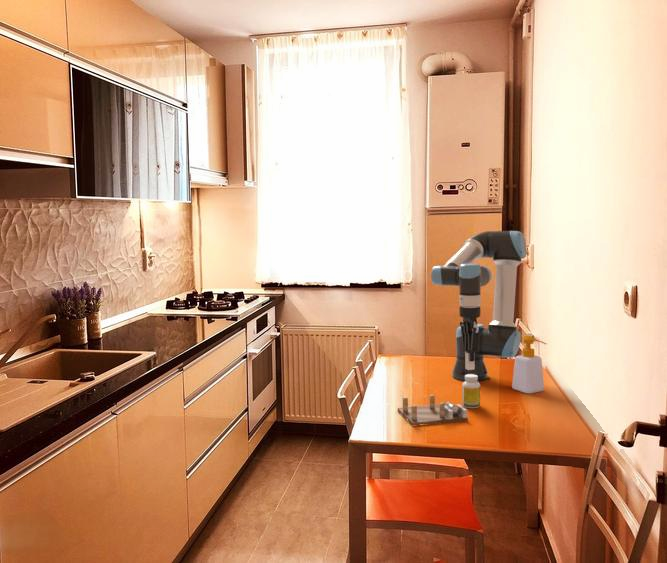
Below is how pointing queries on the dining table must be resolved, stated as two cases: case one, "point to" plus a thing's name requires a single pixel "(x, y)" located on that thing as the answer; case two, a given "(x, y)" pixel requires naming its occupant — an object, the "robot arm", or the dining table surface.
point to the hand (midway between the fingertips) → (469, 369)
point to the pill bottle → (471, 391)
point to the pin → (453, 408)
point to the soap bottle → (528, 369)
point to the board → (431, 413)
